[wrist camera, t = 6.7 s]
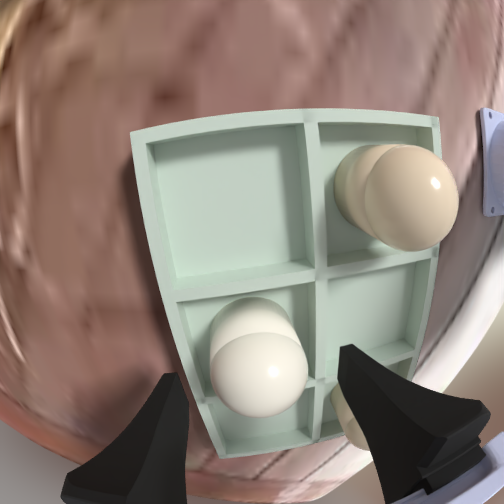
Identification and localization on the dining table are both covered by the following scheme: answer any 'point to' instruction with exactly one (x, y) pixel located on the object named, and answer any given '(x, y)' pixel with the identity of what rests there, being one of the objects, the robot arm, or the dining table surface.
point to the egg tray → (279, 252)
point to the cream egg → (256, 358)
